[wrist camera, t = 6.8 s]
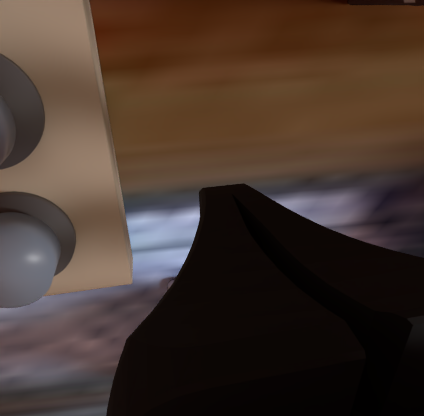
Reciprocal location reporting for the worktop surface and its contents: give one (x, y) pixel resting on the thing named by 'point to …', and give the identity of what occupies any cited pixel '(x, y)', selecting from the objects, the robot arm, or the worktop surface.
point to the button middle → (6, 130)
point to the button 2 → (26, 259)
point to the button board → (62, 141)
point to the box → (386, 2)
